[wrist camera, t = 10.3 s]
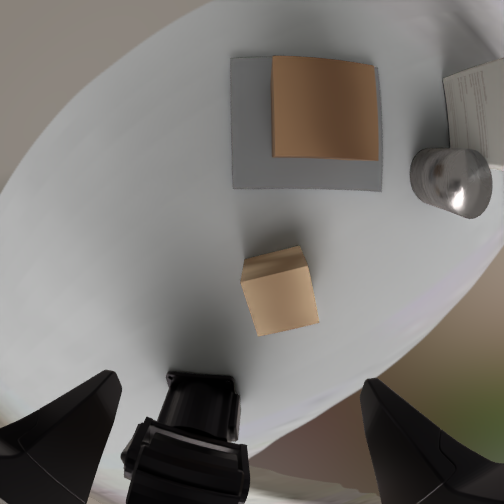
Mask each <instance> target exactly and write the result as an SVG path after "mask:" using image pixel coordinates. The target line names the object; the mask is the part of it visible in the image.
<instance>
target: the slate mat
mask: <svg viewBox="0 0 504 504" xmlns="http://www.w3.org/2000/svg"><path fill="white" fill-rule="evenodd" d="M271 69H272V57H245V58H231V134H232V175H233V189H261V188H293V189H336V190H358V191H375V192H382V163H383V141H382V111H381V96H380V84H379V74H378V68H377V67H374V71H375V81H376V93H377V108H378V135H379V161H362V160H336V159H317V158H272V134H271V90H270V81H271Z"/></svg>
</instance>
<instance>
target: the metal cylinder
mask: <svg viewBox="0 0 504 504" xmlns="http://www.w3.org/2000/svg"><path fill="white" fill-rule="evenodd" d="M410 182H411V186H412V189H413V191H414V193H415V195H416V196H417V197H418V198H419V199H420V200H421V201H422V202H424V203H426V204H429V205H432V206H435V207H438V208H441V209H443V210H446V211H449V212H452V213H454V214H457V215H460V216H462V217H465V218H468V219H473V218H476V217H478V216H480V215H481V214H482V213H483V212H484V211H485V209H486V208H487V206H488V204H489V202H490V198H491V194H492V175H491V171H490V168H489V165H488V163H487V161H486V160H485V158H484V157H483V156H482V155H481V154H480V153H479V152H478V151H476V150H473V149H459V148H427V149H423V150H421V151H420V152H419V153H418V154H417V155H416V156H415V157H414V159H413V161H412V164H411V168H410Z"/></svg>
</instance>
